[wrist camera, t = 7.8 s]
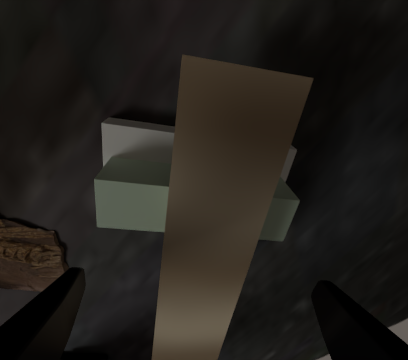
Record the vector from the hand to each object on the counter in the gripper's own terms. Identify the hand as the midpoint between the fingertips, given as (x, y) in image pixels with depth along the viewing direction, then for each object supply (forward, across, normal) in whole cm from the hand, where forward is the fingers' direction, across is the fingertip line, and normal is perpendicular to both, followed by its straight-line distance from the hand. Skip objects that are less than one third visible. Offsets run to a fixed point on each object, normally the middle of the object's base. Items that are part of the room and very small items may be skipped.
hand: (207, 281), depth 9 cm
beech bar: (+4, 0, 0) cm, 5 cm away
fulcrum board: (+9, 0, 0) cm, 9 cm away
